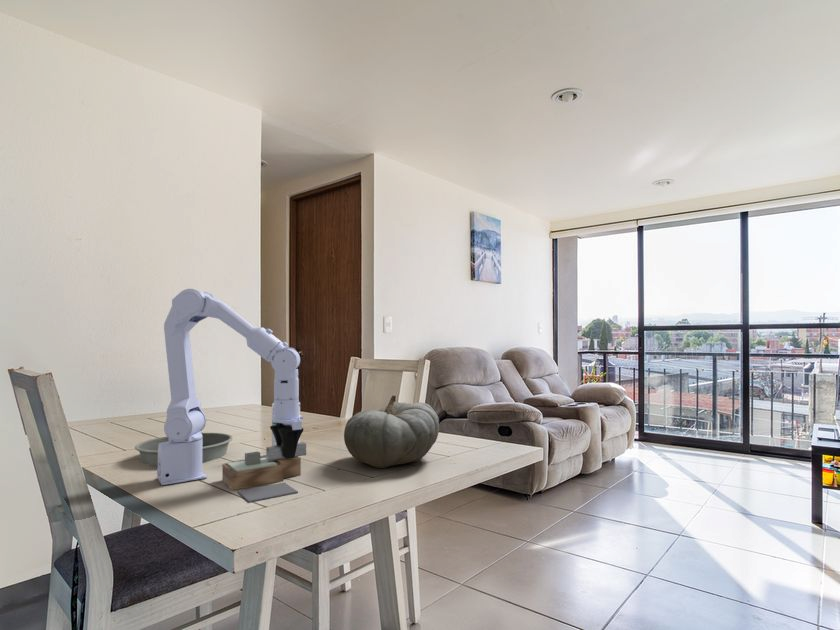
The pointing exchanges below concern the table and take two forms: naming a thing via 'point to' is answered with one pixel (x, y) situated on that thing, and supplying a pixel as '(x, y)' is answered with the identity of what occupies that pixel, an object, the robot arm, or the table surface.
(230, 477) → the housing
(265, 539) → the table surface
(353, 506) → the table surface
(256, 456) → the cover
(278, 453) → the gray rectangular bar
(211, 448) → the cake pan
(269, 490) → the mat
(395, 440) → the gourd
